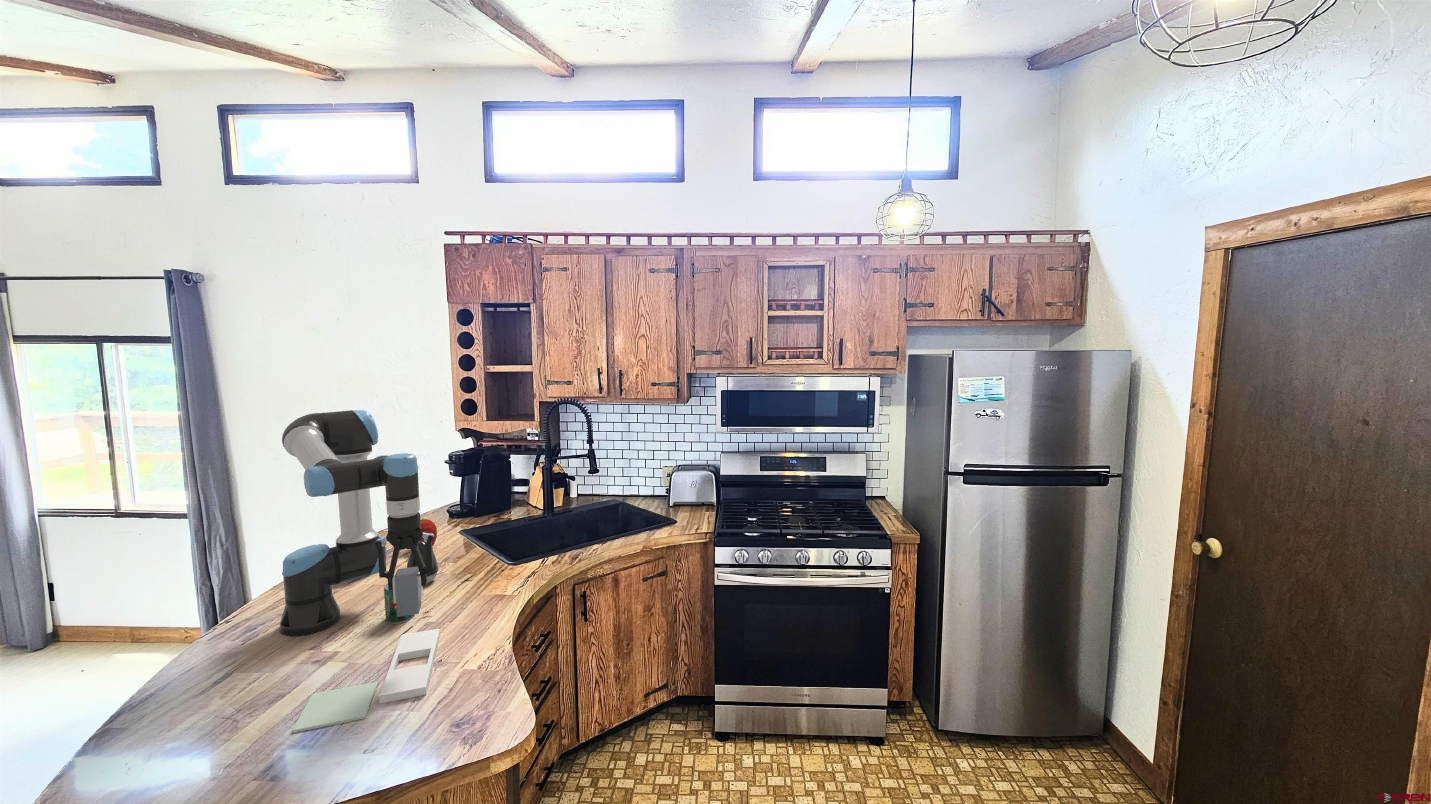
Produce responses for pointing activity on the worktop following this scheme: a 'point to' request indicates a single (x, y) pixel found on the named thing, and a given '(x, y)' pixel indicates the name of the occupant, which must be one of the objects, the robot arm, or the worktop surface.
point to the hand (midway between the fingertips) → (408, 599)
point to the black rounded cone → (412, 561)
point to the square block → (407, 591)
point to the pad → (336, 707)
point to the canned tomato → (392, 608)
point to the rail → (414, 677)
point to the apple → (429, 529)
